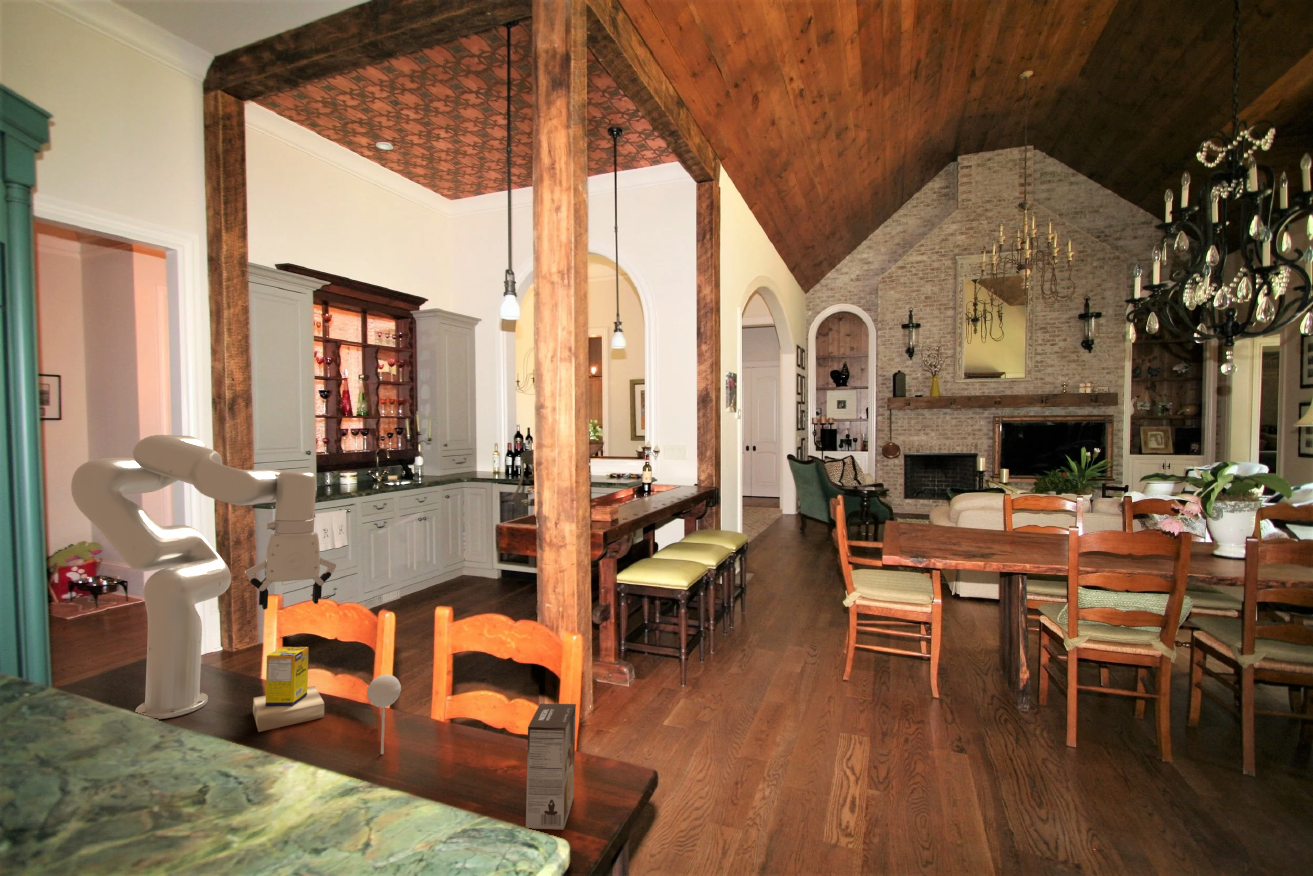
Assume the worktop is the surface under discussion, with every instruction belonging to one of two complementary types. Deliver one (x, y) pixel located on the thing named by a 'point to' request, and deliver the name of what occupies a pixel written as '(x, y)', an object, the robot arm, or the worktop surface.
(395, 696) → the lollipop
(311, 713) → the block
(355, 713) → the worktop surface
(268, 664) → the supplement box
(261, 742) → the worktop surface
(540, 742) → the coffee box
